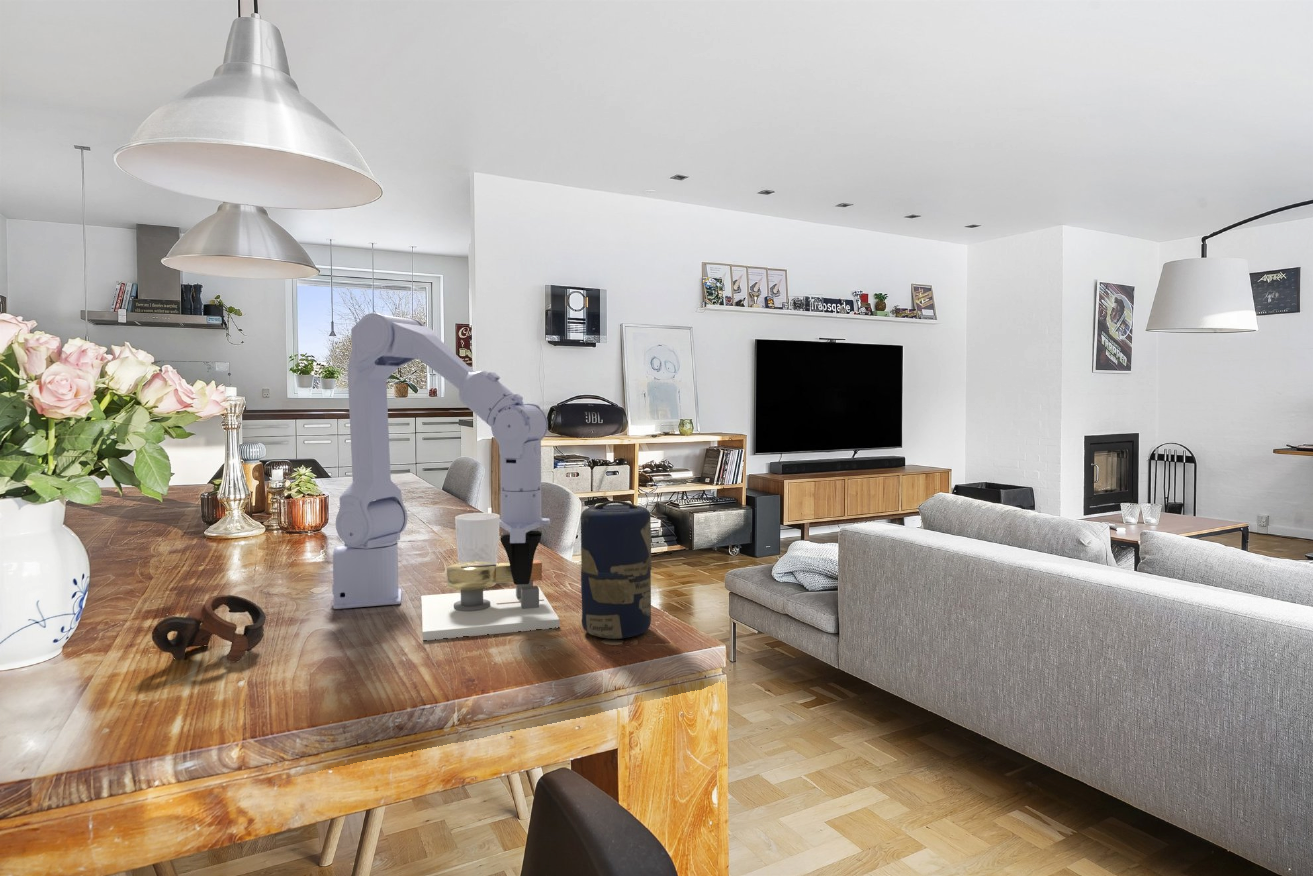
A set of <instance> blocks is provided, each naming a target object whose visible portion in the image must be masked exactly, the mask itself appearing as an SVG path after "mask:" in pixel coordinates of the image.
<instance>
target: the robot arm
mask: <svg viewBox="0 0 1313 876" xmlns="http://www.w3.org/2000/svg"><path fill="white" fill-rule="evenodd" d="M350 331H351V352H350V356H349V360H348V362H347V363H348V364H347V383H348V384H347V386H348V388H347V389H348V406H349V407H348V410H349V428H350V429H349V432H350V452H351V453H350V454H351V470H352V472H351V473H352V482H351V484H350V485H349V486H348V487H347V488H346V489H345V490H344V491H343V492H342V493H341V495H340V497H339V509H338V512H337V515H336V516H335V517H336V518H335V530H336V534H337V535H338V537H339V538H340V540H341V541H342V542H343V543H344V545H336V546H334V548H333V552H332V553H333V555H332V581H333V582H332V588H331V589H332V591H331V592H332V595H333V609H335V610H341V609H352V608H363V607H376V606H378V607H379V606H390V605H400V604H401V603H402V588H400V587H399V557H398V556H399V553H398V552H399V547H398V545H399V544H398V542H399V541H400V540H401V533H403V531H405V529H406V527H407V525H408V512H407V509H406V506H405V505H404V502H403V496H402V490H401V489H400V487H398V486H397V484H395V483H394V482H393V481H392V479H391V478H392V477H391V455H390V436H389V435H390V434H389V431H390V430H389V412H388V409H389V408H388V388H387V380H388V379H389V378H390V377H391V375H393V374H394V373H395V372H396V371H397V370H398V369H399V368H401V367H403V366H405V365H406V364H409V363H411V362H412V361H415V360H416V359H417V360H418V361H421V362H422V363H424V364H425V365H426V366H427V367H429V368H430V369H431V370H433V372H436V373H437V374H438V375H439V376H441V377H443V379H445V380H446V381H447V382H449V383H450V384H452V385H453V386H454V387H455V388H457V389H458V397H459V401H460V402H461V403H462V404H463V405H464V406H466V407H467V408H468V409H469V410H471V411H472V412H473V413H474V414H475V415H476V416H478V417H479V418H480V419H481V420H482V421H483V422H484V423H486V424H487V425H488V426H489V427H490V430H491V434H492V436H493V438H494V439H495V441H496V443H497V445H498V454H499V455H500V457H499V460H500V461H499V462H500V463H499V464H500V466H499V467H500V523H499V528H500V527H501V528H502V529H503V530H505V531H507V532H506V533H502V534H500V536H499V541H500V542H501V545H502V547H503V549H504V550H505V553H506V555H507V558H508V563H510V568H511V573H512V578H513V581H514V582H513V584H514V585H515V586H516V585H519V584H529V582H530V578H531V573H532V566H533V560H535V554H536V551H537V548H538V545H539V544H540V541H541V539H542V537H543V536H542V534H543V532H542V531H541V530H537V528H540V527H542V526H548V525H549V526H550V523H551V520H550V519H551V518H547V517H545V518H544V517H542V440H543V439H544V438H545V436H546V435H547V433H548V429H549V421H548V418H547V415H546V414H545V411H543V410H542V409H541V407H540V406H539V405H538V404H535V403H524V401H523V399H524V397H523V396H522V395H521V394H520V393H514V392H512V391H511V390H510V389H509V388H507V387H506V386H505V385H504V384H503V383H502V382H500V381H499V380H500V379H501V377H500V375H498V374H497V373H496V372H488V371H487V370H479V371H474V370H473V369H472V368H471V366H469V365H468V364H467V363H465V361H463V359H461V358H460V357H459V356H458V355H457V354H456V353H455V352H454V351H453V350H452V349H451V348H450V347H448V346H447V345H446V344H445V343H444V341H442V340H441V339H440V338H439V337H438V336H437V335H436V334H435V332H434V330H433V329H432V328H430V327H428V326H425V324H424V323H423V322H422V321H420V320H419V319H417V318H413V317H409V318H408V317H407V318H405V317H397V316H392V315H391V316H390V315H384V314H381V313H377V312H370V313H367V314H365V315H364V316H362V317H361V318H360V319H359V320H358V321H357V323H356V324H355V325H354V326H352V328H351V329H350ZM535 529H536V530H535Z"/></svg>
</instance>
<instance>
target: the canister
mask: <svg viewBox="0 0 1313 876" xmlns="http://www.w3.org/2000/svg"><path fill="white" fill-rule="evenodd" d="M651 520H652V519H651V513H650V511H649V510H648V509H647V508H646V507H645V506H644V507H643V506H641V505H636V504H633V503H631V502H627V501H623V500H617V499H615V500H614V499H613V500H607V501H606V502H603V503H599V504H597V505H595V506H594V505H593V506H590V507H588V508H586V509H584V510H582V512H581V514H580V562H581V563H580V564H581V565H580V566H581V567H580V591H581V594H580V595H581V610H582V611H581V626H582V628H583V630H584V631H585V632H586V633H587V634H589V635H592V636H593V637H598V638H601V639H613V640H614V639H616V640H617V639H618V640H619V639H625V638H626V639H627V638H631V637H636V636H639V635H641V634H644V633H645V632H646V631H647V630H648V629H649V628H650V627H651V622H652V581H651V580H652V575H651V573H652V571H651V570H652V525H651V524H652V522H651Z"/></svg>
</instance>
